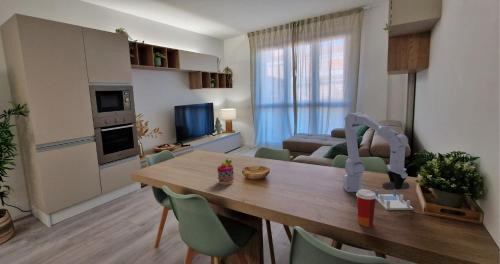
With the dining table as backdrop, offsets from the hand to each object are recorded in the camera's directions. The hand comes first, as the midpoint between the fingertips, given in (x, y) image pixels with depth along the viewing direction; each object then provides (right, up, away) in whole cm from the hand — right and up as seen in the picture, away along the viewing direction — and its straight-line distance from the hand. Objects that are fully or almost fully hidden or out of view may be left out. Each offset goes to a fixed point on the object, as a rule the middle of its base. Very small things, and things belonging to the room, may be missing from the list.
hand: (395, 187), depth 114 cm
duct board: (+1, -9, +5) cm, 10 cm away
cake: (-86, -7, +43) cm, 96 cm away
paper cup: (-21, -13, -12) cm, 27 cm away
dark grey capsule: (0, -1, 0) cm, 1 cm away
